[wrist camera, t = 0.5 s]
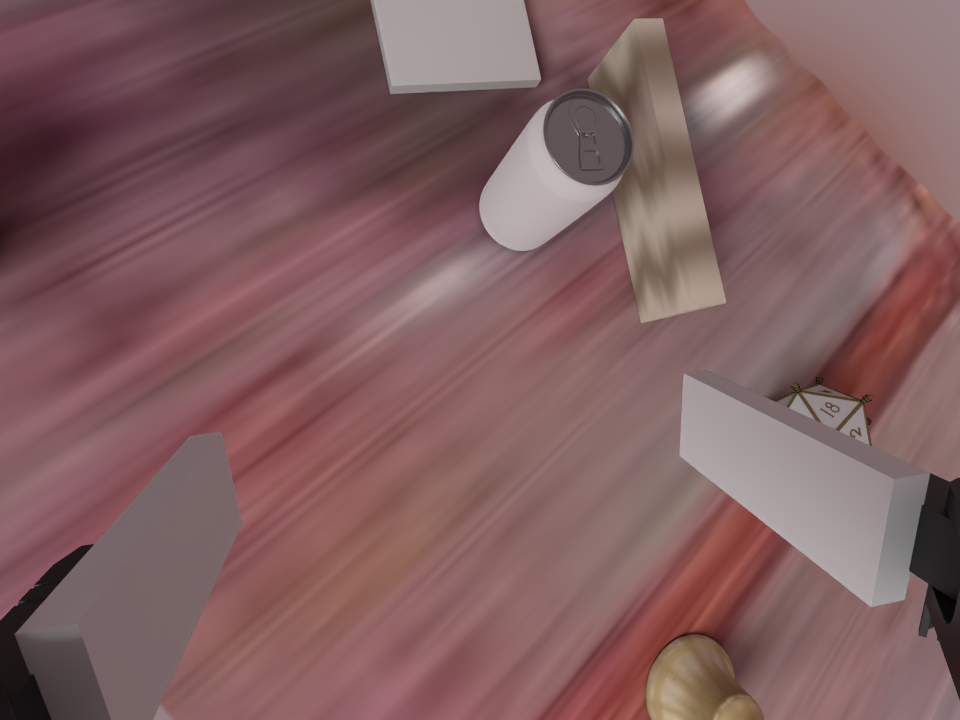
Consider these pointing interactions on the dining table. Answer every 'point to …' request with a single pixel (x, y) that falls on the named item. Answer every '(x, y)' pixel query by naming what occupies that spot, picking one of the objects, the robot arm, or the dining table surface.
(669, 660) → the hand bell
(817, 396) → the game die
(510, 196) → the can
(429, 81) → the pad
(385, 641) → the dining table surface
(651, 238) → the beige brown patterned panel
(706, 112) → the dining table surface
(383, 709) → the dining table surface
